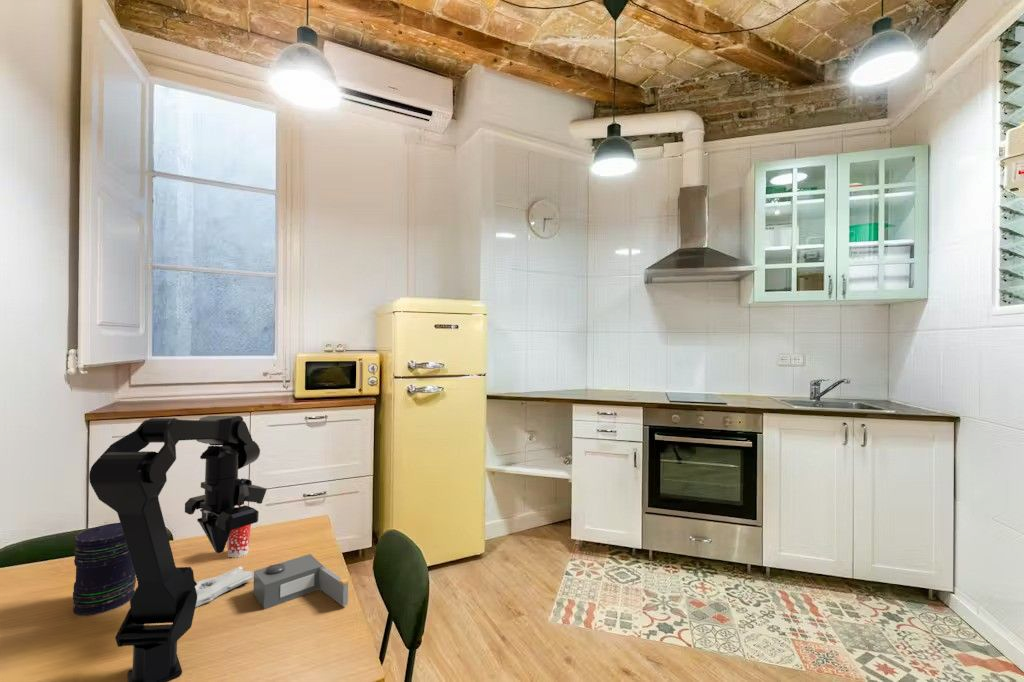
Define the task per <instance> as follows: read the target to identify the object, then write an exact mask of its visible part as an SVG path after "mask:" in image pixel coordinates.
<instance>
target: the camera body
mask: <svg viewBox="0 0 1024 682" xmlns="http://www.w3.org/2000/svg"><path fill="white" fill-rule="evenodd" d="M323 566H324V565H323V564H322V563H321V562H320V561H319V560H317V558H316V557H314V556H313V555H312V554H310V553H308V554H306V555H302V556H298V557H296V558H292V559H289V560H286V561H285V560H284V561H282V562H280V563H276V564H275V563H274V564H271V565H269V566H265V567H263V568H259V569H256V570H253V572H254V578H253V595H254V597H255V598H256V600H257V601H258V603H259V604H260V606H262V608H263V609H264V610H267V609H269V608H272V607H274V606H277V605H280V604H283V603H285V602H288V601H291V600H293V599H296V598H299V597H302V596H305V595H307V594H311V593H313V592H315V591H319V590H320V589H319V571H320V567H323Z"/></svg>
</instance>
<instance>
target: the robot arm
mask: <svg viewBox="0 0 1024 682" xmlns="http://www.w3.org/2000/svg"><path fill="white" fill-rule="evenodd" d="M179 441H180V442H181V441H197V442H198V443H203V444H205V445H207V444H208V446H207V449H205V450H204V451H203V452H202V453H201V454H200V457H199V458H200V459H201V460H205V472H204V475H205V476H204V477H205V478H204V481H201V482H200V488H201V489H204V494H202V495H201V494H200V495H198V496H197V495H196V496H193V497H189V499H188V500H187V501H186V502H185V503H184V513H185V514H188V515H194V514H195V512H196V510H200V512H201V517H199V518H197V519H196V520H197V523H199V525H200V527H201V529H202V530H203V531H204V534H205V535H206V536H207V537H206V538H207V539H208V542H210V544H211V546H212V548H213V549H214V552H215V553H216V554H220V553H223V552H224V551H225V548H226V545H227V540H228V537H229V535H230V532H231V530H233V529H237V528H240V527H243V526H246V525H250V524H251V525H252V524H255V523H258V522H259V510H257V509H255V508H254V507H251V506H248V505H245V502H248V503H256V504H259V505H260V504H263V501H264V498H265V495H266V492H267V490H268V489H267V488H265V487H263V486H259V485H256V484H253V483H252V480H251V479H248V478H241V479H240V478H239V470H240V469H242V468H245V467H247V466H248V465H250V464H252V463H254V462H255V461H257V460H258V458H259V457H260V454H261V449H260V446H259V445H258V443H257V442H256V441H254V440H253V438H252V434H251V433H250V430H249V429H248V426H247V423H246V421H244V418H243V416H241V415H207V416H203V417H200V418H199V419H178V418H176V417H153V418H148V419H145V420H144V421H142V422H141V424H140V425H138V427H137V428H136V429H135V430H134V431H132V432H131V433H129V434H127V435H124V436H123V437H121V438H120V439H118V440H116V441H115V442H113V443H112V444H110V446H108V448H107V449H105V450H104V452H103V453H102V454H101V455H100V457H99V458H97V460H96V461H95V462H94V463H93V464H92V466H91V467H90V470H89V475H88V478H89V479H88V480H89V483H90V486H91V488H92V489H93V491H94V494H95V495H96V497H97V499H98V500H99V501H100V502H102V503H103V504H105V506H106V505H107V506H108V507H109V508H111V510H112V511H115V512H116V514H117V516H118V519H119V523H121V527H122V530H123V534H124V537H125V540H126V544H127V547H128V551H129V554H130V557H131V561H132V564H133V568H134V571H135V574H136V575H135V576H136V582H137V587H136V588H135V589H134V590H135V592H134V594H133V595H132V597H131V599H130V601H129V603H130V604H129V607H130V608H129V609H128V611H127V614H126V615H125V617H124V619H123V621H122V623H121V625H120V627H119V629H118V631H117V633H116V635H115V639H114V640H115V642H116V645H117V648H119V647H121V648H122V647H127V646H130V647H131V646H132V669H129V670H128V671H127V675H126V676H127V681H128V682H167V681H170V680H172V679H174V678H177V677H179V676H181V675H182V674H183V669H182V666H181V663H180V659H179V657H178V641H179V640H180V639H181V638H182V637H183V636H184V635H185V634H186V633H187V632H188V631H189V630H190V629H191V628H192V625H193V620H194V615H195V611H196V608H197V607H196V602H197V593H196V589H195V586H196V585H197V583H196V582H197V581H195V575H194V570H193V569H192V567H191V566H182V567H181V566H179V567H177V566H176V563H175V560H174V555H173V550H172V548H171V547H172V546H171V542H170V539H169V535H168V531H167V527H166V524H165V523H166V522H165V519H164V516H163V512H162V508H161V503H160V500H159V499H160V498H159V495H160V494H161V493H162V491H163V489H164V487H165V485H166V484H167V480H168V479H167V472H169V470H170V468H171V467H172V466H173V465H174V463H175V462H176V460H177V452H176V451H177V449H176V447H177V446H176V445H177V444H178V443H179ZM151 443H158V444H160V443H161V444H162V443H163V445H162V446H161V448H160V449H159V451H158V452H157V451H141V450H143V449H144V448H147V446H148V445H149V444H151ZM240 505H241V507H239V506H240ZM236 506H237V507H236ZM195 607H196V608H195Z"/></svg>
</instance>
